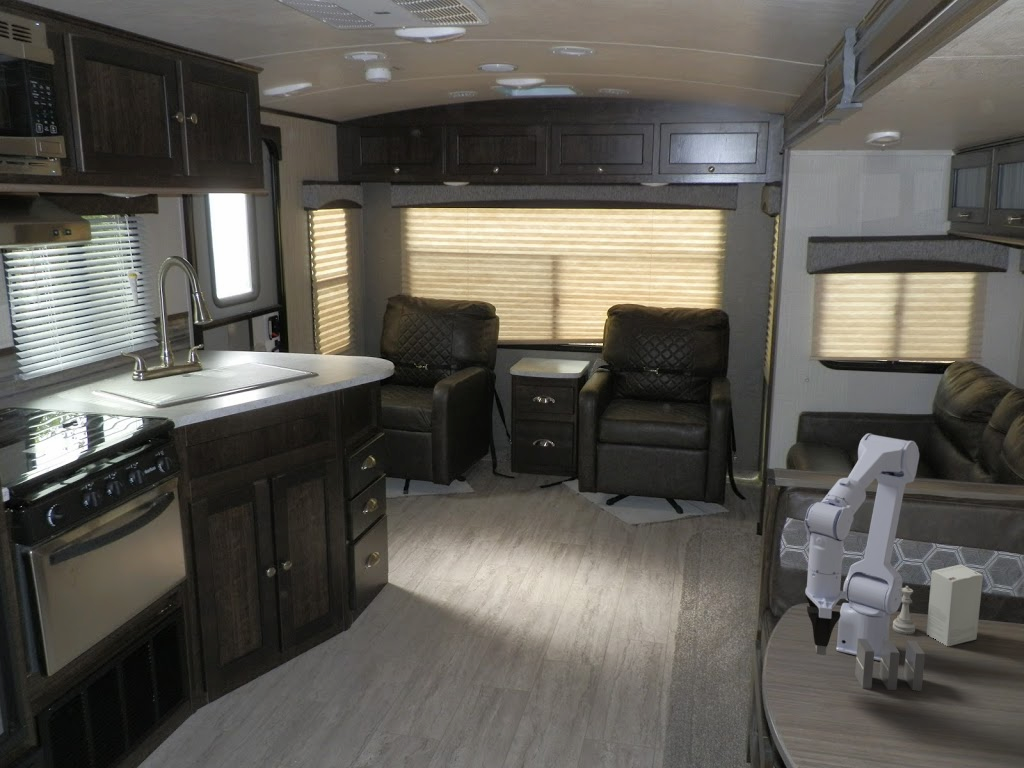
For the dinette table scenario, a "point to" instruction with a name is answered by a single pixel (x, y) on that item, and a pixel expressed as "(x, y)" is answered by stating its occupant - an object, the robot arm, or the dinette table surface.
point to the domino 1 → (820, 650)
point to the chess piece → (904, 615)
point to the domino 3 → (889, 664)
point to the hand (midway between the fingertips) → (820, 638)
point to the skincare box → (954, 605)
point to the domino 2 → (864, 663)
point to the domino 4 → (914, 665)
